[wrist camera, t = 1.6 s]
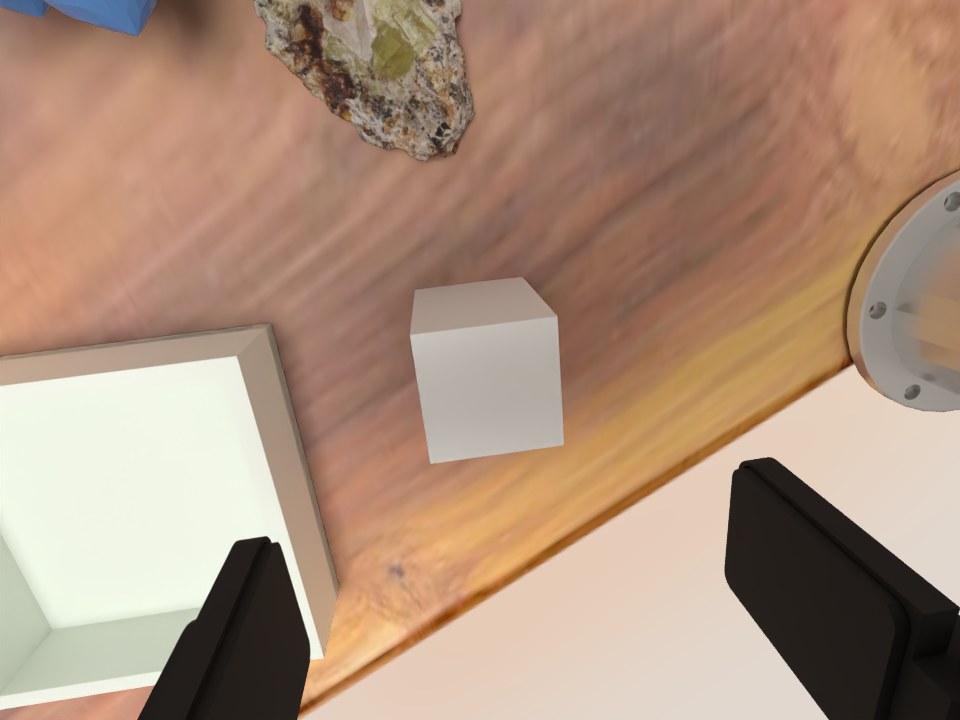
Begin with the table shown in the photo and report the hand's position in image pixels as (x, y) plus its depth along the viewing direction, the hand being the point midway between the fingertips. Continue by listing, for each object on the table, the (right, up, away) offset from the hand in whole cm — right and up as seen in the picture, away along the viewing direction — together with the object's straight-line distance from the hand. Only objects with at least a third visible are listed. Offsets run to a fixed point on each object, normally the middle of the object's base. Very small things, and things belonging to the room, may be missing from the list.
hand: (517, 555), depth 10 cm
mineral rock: (-5, +17, +10) cm, 20 cm away
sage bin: (-17, -3, +15) cm, 23 cm away
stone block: (-1, +5, +14) cm, 15 cm away
